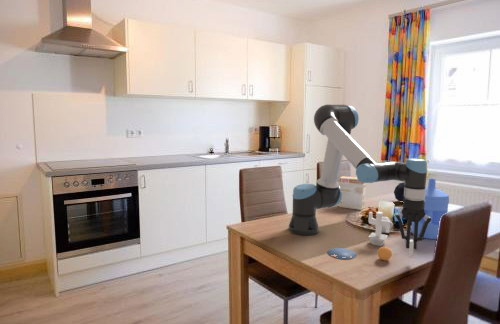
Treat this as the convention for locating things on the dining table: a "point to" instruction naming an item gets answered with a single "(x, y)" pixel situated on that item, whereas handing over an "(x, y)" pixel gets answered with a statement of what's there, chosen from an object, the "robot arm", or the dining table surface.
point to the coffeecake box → (352, 193)
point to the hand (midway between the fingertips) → (410, 256)
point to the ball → (384, 253)
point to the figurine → (378, 228)
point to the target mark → (342, 253)
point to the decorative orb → (399, 192)
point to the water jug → (433, 210)
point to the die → (384, 226)
